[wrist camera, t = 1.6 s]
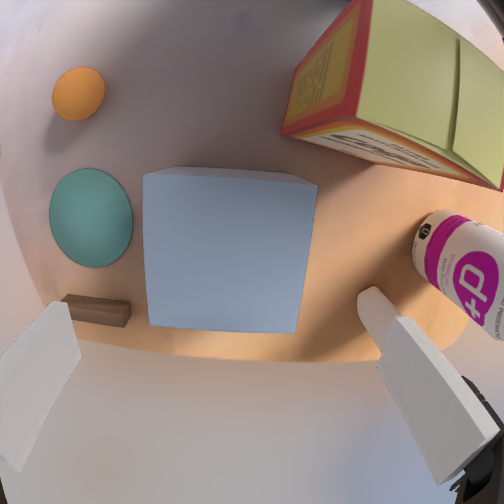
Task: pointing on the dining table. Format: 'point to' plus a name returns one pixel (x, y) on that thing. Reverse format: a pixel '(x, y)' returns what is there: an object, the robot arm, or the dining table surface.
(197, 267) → the light blue block
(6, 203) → the dining table surface
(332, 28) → the baking soda box
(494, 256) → the supplement can
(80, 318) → the block
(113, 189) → the disc
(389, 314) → the eye dropper bottle
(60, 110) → the ball
